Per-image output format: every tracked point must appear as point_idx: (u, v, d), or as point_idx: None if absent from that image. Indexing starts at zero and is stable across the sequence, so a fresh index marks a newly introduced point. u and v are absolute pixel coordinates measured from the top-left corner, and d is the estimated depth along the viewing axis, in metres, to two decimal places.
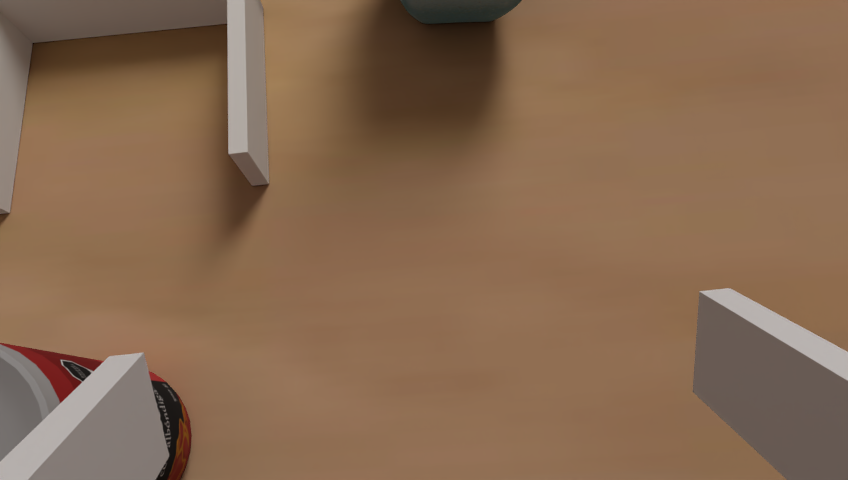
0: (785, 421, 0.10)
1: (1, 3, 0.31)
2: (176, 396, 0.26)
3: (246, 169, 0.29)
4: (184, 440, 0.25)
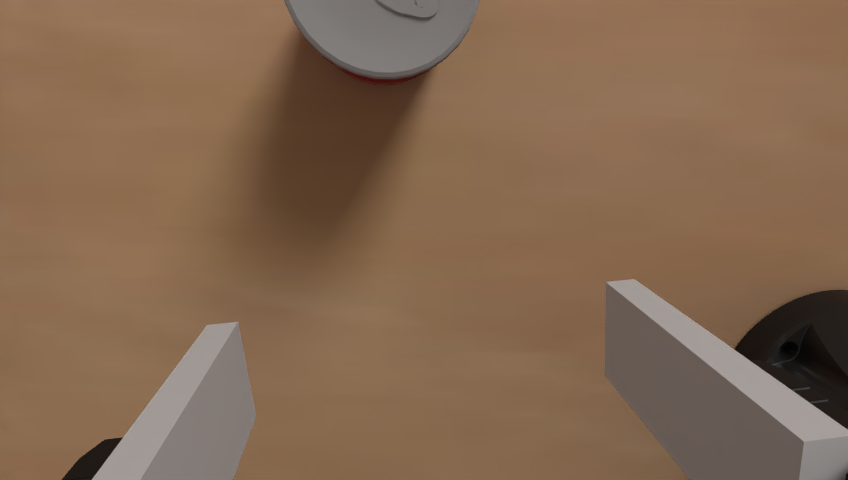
0: (663, 397, 0.11)
1: None
2: None
3: None
4: None
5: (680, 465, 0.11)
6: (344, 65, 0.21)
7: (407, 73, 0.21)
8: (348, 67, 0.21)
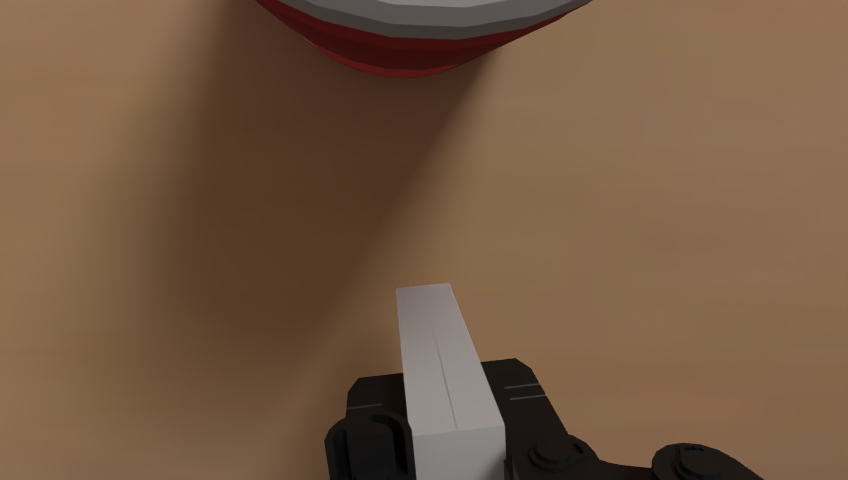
0: None
1: None
2: None
3: None
4: None
5: None
6: None
7: (517, 12, 0.05)
8: None
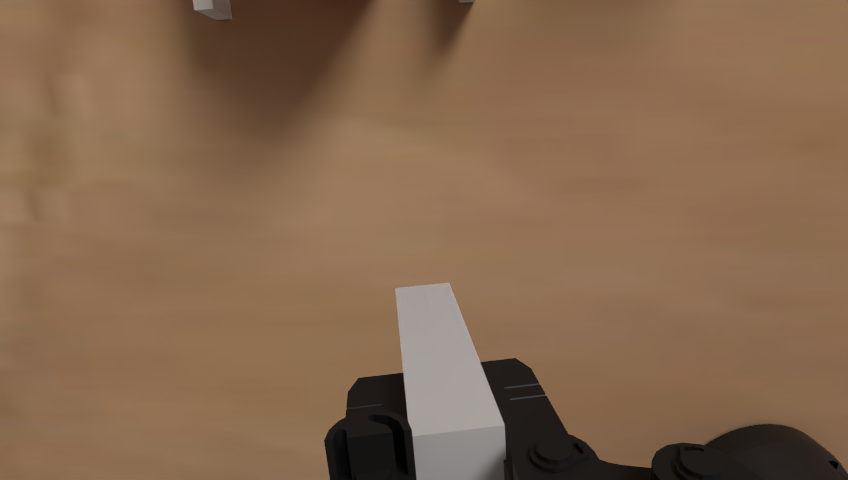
0: None
1: None
2: None
3: None
4: None
5: None
6: None
7: None
8: None
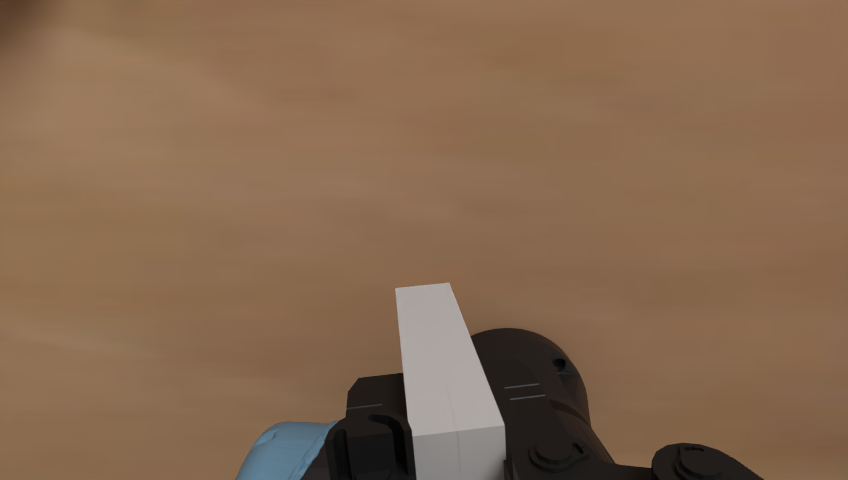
0: None
1: None
2: None
3: None
4: None
5: None
6: None
7: None
8: None
